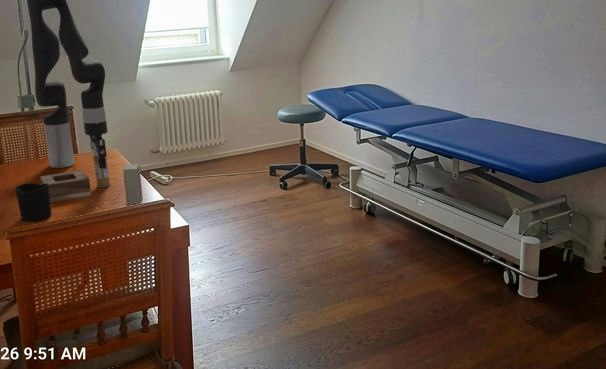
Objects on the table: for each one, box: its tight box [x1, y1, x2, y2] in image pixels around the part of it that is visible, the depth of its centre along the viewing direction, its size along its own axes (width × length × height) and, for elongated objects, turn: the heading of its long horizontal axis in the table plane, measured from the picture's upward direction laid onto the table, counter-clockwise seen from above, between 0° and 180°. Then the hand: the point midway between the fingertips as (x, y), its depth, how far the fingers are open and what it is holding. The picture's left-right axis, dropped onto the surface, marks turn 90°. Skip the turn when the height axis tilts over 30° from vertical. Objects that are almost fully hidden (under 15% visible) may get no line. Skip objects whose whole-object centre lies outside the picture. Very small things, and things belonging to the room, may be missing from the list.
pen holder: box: [14, 182, 52, 223], centre depth 194 cm, size 9×9×10 cm
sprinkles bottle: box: [91, 149, 111, 188], centre depth 224 cm, size 5×5×13 cm
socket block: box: [39, 170, 92, 203], centre depth 216 cm, size 12×14×6 cm
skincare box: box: [122, 163, 143, 206], centre depth 206 cm, size 6×4×12 cm
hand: (100, 165), depth 223 cm, fingers open, 8 cm apart
